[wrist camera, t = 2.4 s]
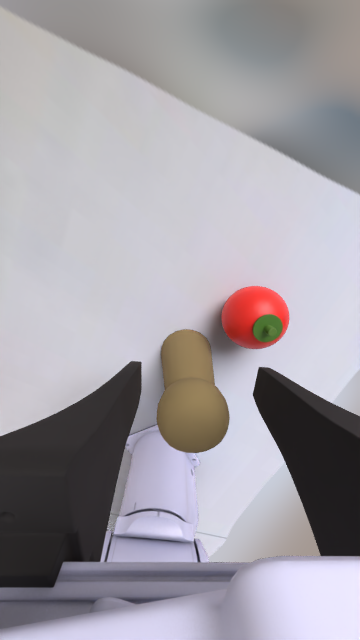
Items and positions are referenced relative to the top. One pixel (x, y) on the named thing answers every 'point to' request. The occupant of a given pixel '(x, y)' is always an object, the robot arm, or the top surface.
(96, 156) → the top surface
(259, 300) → the tomato
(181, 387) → the tan rounded tall piece
